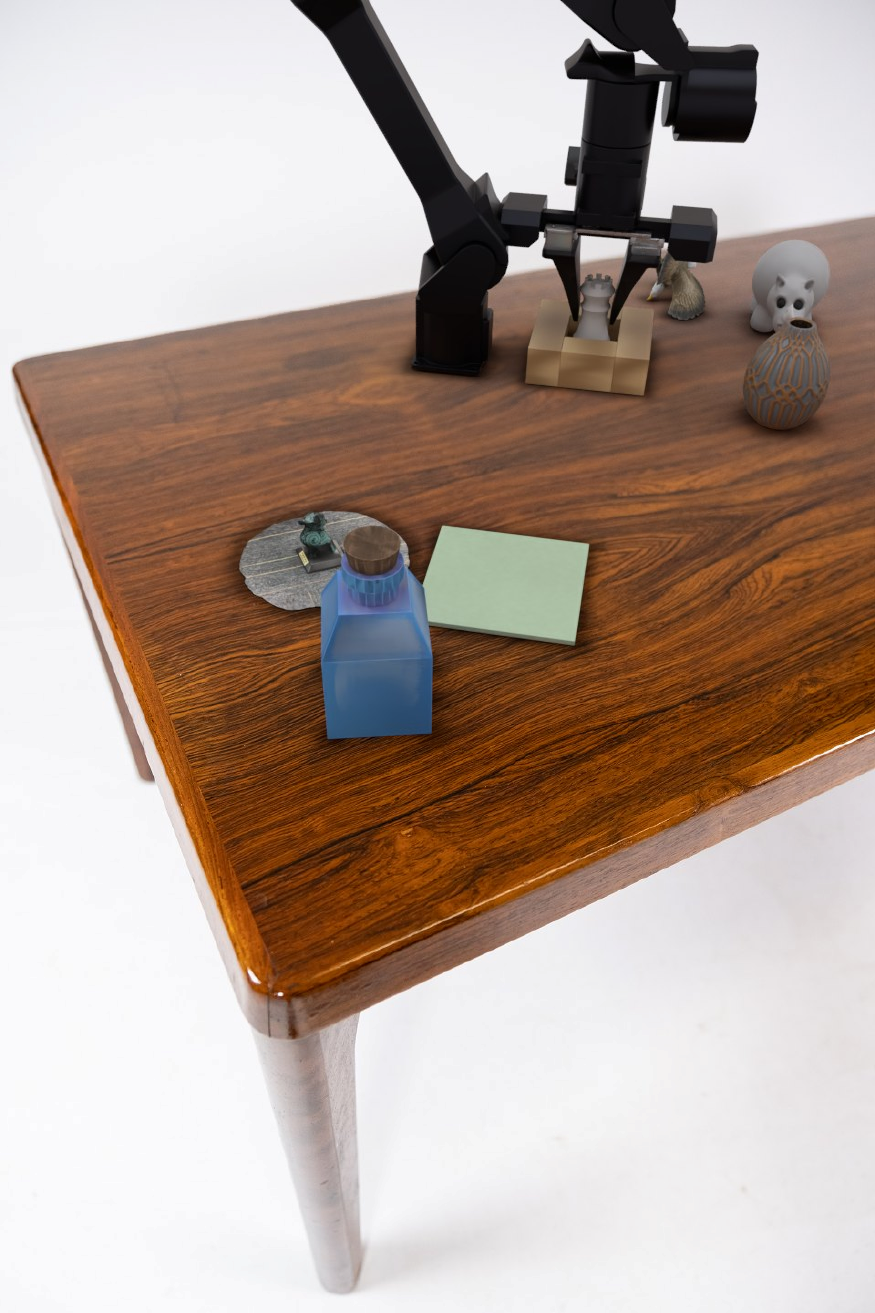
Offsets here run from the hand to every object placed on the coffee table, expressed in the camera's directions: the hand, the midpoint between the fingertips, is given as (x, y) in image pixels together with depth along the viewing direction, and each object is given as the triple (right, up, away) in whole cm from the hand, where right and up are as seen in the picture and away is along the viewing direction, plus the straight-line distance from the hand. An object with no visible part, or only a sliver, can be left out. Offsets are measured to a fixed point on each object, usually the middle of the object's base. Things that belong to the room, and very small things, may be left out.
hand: (593, 321), depth 93 cm
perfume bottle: (-18, -34, -31) cm, 49 cm away
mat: (-10, -26, -22) cm, 35 cm away
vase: (+15, -10, -4) cm, 19 cm away
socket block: (0, -3, +3) cm, 4 cm away
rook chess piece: (0, -3, +3) cm, 4 cm away
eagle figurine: (+10, +6, +14) cm, 18 cm away
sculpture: (-22, -24, -20) cm, 39 cm away
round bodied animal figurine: (+19, +1, +8) cm, 21 cm away
